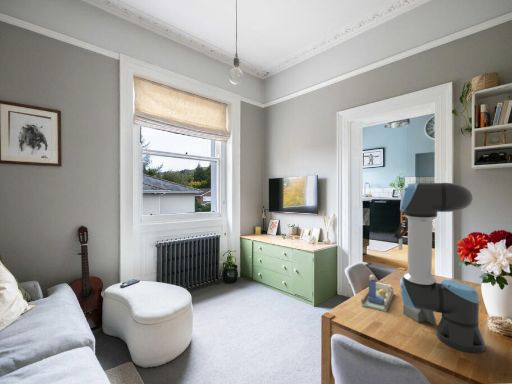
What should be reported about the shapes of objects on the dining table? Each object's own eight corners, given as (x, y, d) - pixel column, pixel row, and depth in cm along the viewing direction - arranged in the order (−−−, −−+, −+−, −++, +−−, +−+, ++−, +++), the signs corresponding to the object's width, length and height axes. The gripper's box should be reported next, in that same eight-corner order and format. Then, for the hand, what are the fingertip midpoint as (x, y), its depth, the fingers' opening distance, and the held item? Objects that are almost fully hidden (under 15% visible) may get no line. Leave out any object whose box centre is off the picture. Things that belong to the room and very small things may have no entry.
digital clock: (438, 325, 113) (438, 302, 114) (418, 326, 113) (418, 302, 113) (414, 309, 130) (414, 288, 130) (397, 309, 129) (397, 288, 129)
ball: (385, 298, 140) (385, 291, 140) (377, 296, 143) (377, 289, 143) (386, 295, 143) (386, 288, 143) (379, 294, 146) (379, 287, 146)
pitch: (386, 311, 127) (386, 299, 127) (361, 305, 133) (361, 294, 133) (393, 294, 149) (393, 283, 149) (371, 289, 156) (371, 279, 156)
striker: (382, 304, 132) (382, 278, 132) (368, 301, 136) (368, 275, 136) (384, 300, 137) (384, 275, 137) (370, 297, 141) (370, 272, 141)
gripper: (439, 216, 138) (440, 255, 138) (394, 213, 159) (394, 247, 159) (433, 217, 134) (433, 257, 134) (388, 214, 155) (388, 248, 155)
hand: (412, 251), depth 146 cm, fingers open, 13 cm apart
